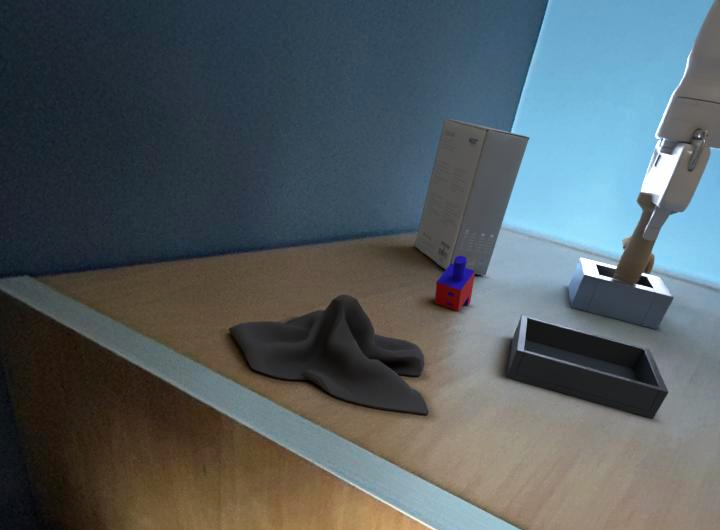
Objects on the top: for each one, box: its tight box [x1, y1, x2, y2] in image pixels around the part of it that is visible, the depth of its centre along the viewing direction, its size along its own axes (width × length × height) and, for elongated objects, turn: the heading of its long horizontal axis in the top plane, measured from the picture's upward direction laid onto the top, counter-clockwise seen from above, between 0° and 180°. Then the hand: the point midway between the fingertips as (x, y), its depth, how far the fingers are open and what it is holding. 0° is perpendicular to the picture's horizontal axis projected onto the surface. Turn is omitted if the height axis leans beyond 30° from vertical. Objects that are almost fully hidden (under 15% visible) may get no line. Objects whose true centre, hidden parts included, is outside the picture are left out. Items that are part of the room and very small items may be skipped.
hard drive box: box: [414, 117, 531, 276], centre depth 94 cm, size 16×8×20 cm, turn 15°
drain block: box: [567, 257, 675, 330], centre depth 92 cm, size 13×13×5 cm
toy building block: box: [434, 256, 476, 312], centre depth 77 cm, size 4×4×8 cm
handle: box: [613, 191, 679, 284], centre depth 88 cm, size 5×6×15 cm
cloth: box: [228, 294, 430, 416], centre depth 55 cm, size 22×19×6 cm
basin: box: [506, 314, 669, 419], centre depth 65 cm, size 16×14×3 cm
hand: (644, 236), depth 87 cm, fingers closed on handle, 4 cm apart
